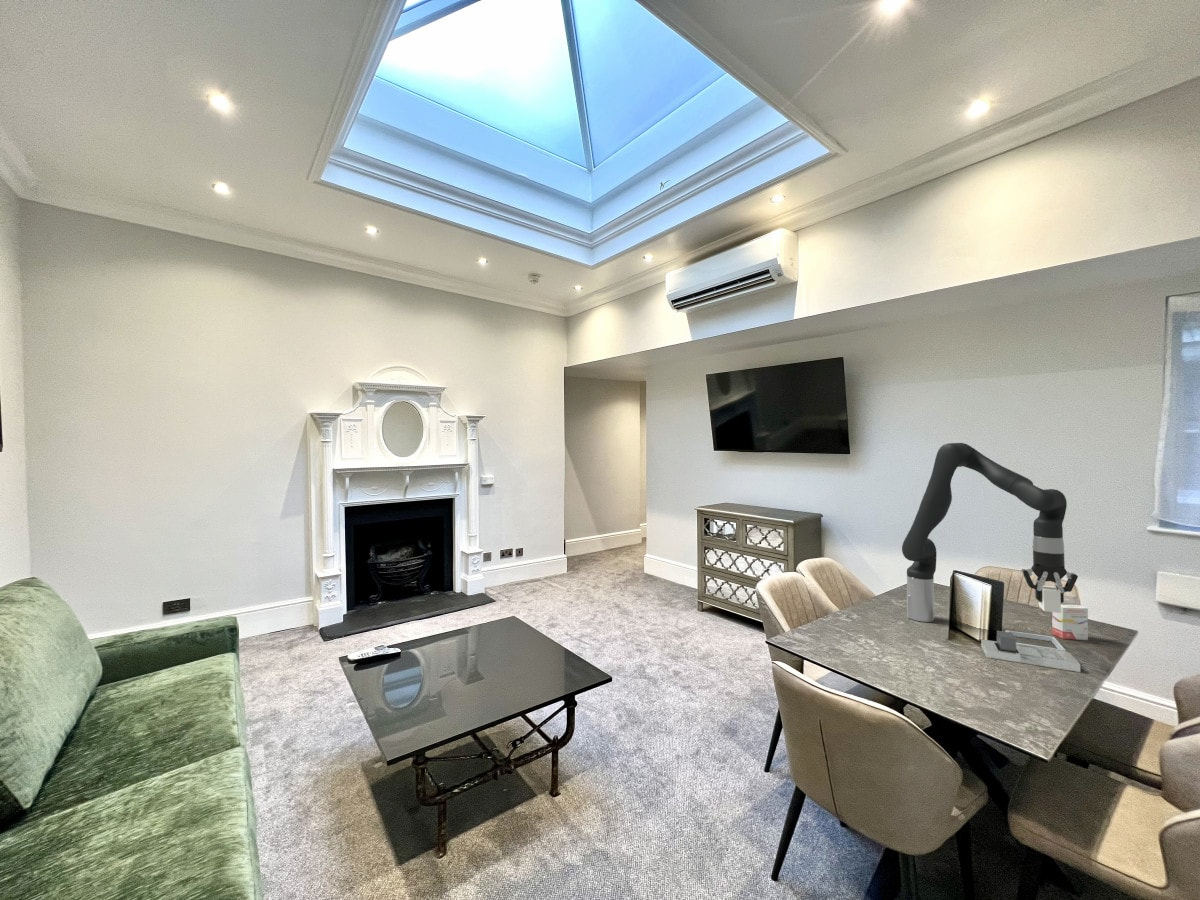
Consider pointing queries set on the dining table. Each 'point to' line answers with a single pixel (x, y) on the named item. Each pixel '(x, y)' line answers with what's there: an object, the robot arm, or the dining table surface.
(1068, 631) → the ink cartridge box
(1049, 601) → the plug
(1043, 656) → the grey fixture base
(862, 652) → the dining table surface
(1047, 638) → the tray
